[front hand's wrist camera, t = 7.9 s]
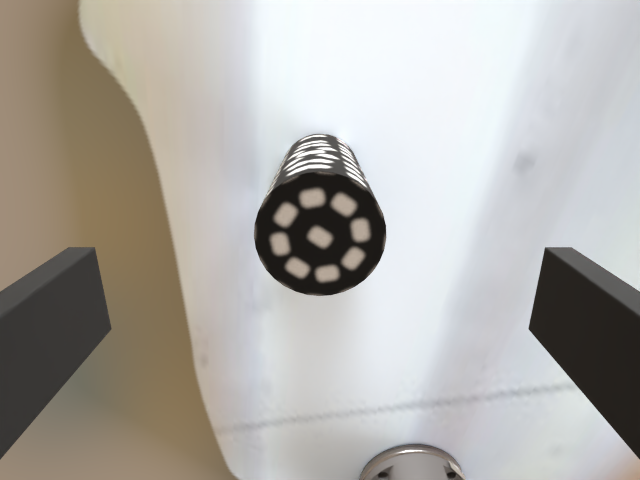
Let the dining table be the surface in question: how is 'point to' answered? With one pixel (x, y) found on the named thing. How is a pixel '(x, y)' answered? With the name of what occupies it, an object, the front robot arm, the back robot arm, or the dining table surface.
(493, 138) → the dining table surface
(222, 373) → the dining table surface
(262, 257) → the black white spotted cylinder
